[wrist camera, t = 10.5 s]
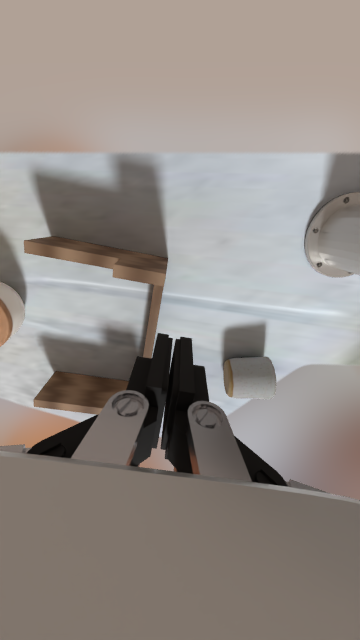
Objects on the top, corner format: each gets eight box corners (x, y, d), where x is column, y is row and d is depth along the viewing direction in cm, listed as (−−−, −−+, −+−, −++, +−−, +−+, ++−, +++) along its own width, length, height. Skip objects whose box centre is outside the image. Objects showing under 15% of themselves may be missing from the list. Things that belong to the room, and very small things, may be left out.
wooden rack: (168, 258, 38) (165, 273, 27) (145, 389, 49) (137, 439, 38) (54, 236, 37) (2, 243, 26) (55, 377, 47) (19, 425, 36)
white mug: (222, 351, 46) (230, 376, 39) (264, 348, 46) (280, 373, 39) (221, 394, 50) (228, 423, 43) (259, 391, 50) (273, 420, 43)
